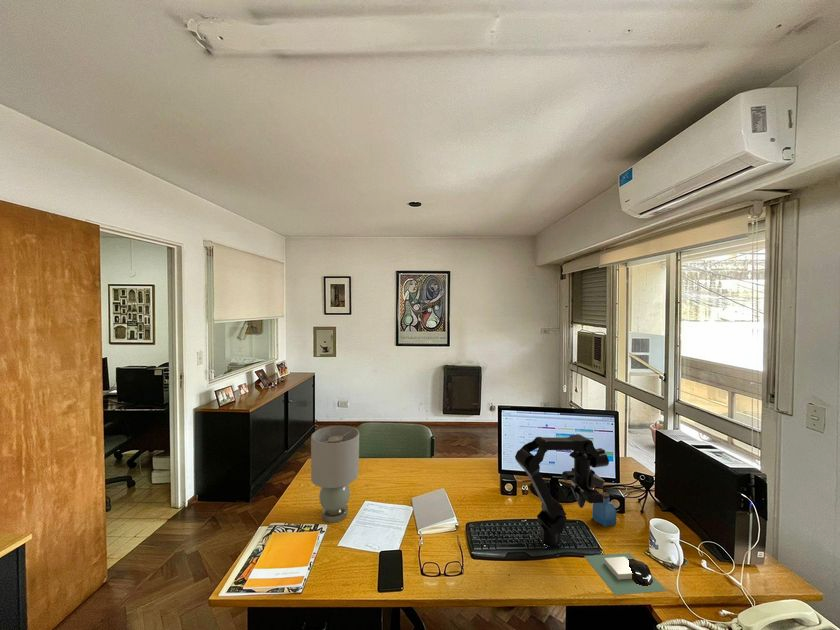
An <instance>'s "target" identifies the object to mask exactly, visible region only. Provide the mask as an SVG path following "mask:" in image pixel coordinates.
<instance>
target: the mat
mask: <svg viewBox="0 0 840 630" xmlns="http://www.w3.org/2000/svg"><path fill="white" fill-rule="evenodd" d="M583 556H584V558H585V560H586V561H587V562H588V563H589V564H590V566H591V567H592V568H593V569H594V571H595V572H596V573H597V574H598V576H599V577H600V579H602V581H603V582H604V583H605V584H606V586H607V587H608V588H609V589H610V590H611V592H612V594H614V596H619V595H620V596H621V595H632V594H643V593H654V592H657V593H658V592H667V591H668V590H667V589H666V588H665V587H664V586H663V585H662V584H661V582H659V581H658V580H657V579H656V577H654V576H653V583H652V584H651V585H648V586H642V585H639V584H636V583H635V582H634V581H633V580H632V579H620V580H618V579H617V578H616V576H615V575H614V574H613V573H612V572H611V571H610V569H609V568H608V567H607V566H606V565H605V564H604V558H612V557H626V558H627V559H636V558H635V557H634V556H633V555H632V554H631V553H630V552H625V553H624V552H623V553H611V554H610V553H609V554H595V555H583Z"/></svg>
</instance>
